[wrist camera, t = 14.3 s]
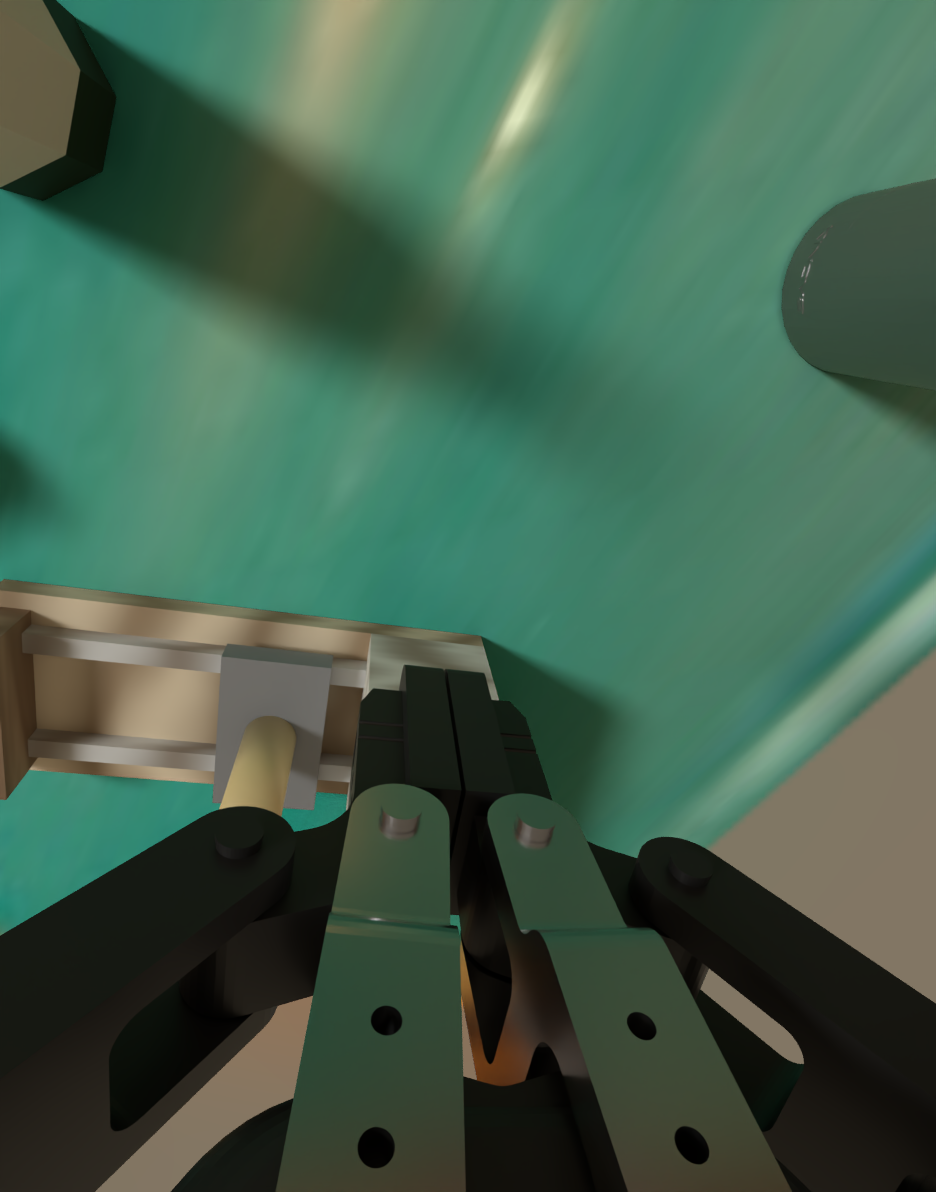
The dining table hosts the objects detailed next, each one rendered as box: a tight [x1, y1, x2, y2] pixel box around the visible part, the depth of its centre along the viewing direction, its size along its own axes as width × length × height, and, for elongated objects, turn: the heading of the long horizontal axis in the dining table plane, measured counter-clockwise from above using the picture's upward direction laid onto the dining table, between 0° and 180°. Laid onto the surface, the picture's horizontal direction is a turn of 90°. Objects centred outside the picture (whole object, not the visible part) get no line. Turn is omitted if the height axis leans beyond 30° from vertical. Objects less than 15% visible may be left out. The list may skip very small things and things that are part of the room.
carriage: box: [213, 644, 333, 816], centre depth 38 cm, size 6×10×10 cm, turn 169°
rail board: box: [0, 579, 499, 811], centre depth 40 cm, size 28×12×10 cm, turn 79°
